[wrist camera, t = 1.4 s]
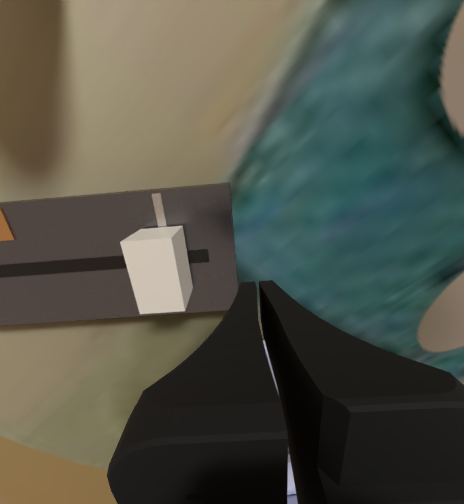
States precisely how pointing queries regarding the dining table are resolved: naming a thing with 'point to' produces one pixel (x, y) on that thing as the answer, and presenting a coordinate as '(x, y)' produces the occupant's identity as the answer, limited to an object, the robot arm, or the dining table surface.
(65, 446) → the dining table surface
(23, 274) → the panel
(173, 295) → the fader
